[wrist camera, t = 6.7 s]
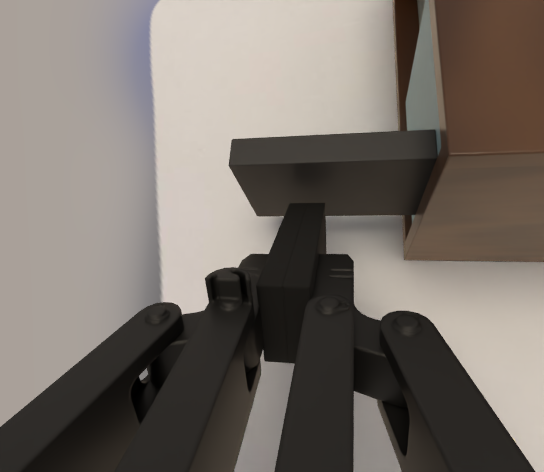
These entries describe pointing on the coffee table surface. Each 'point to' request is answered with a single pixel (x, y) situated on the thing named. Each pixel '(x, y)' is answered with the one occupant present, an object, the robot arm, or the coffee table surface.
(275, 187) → the door
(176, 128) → the coffee table surface
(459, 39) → the cabinet
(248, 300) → the robot arm
